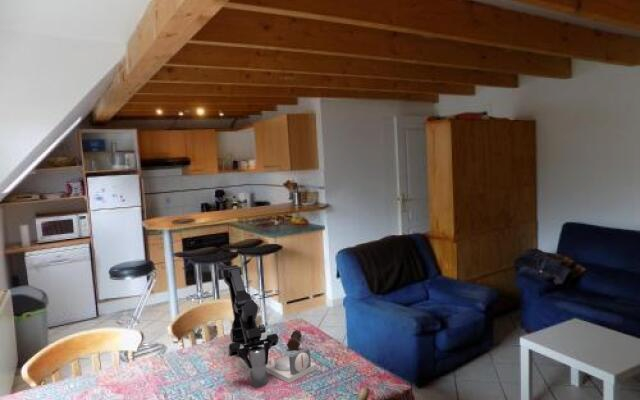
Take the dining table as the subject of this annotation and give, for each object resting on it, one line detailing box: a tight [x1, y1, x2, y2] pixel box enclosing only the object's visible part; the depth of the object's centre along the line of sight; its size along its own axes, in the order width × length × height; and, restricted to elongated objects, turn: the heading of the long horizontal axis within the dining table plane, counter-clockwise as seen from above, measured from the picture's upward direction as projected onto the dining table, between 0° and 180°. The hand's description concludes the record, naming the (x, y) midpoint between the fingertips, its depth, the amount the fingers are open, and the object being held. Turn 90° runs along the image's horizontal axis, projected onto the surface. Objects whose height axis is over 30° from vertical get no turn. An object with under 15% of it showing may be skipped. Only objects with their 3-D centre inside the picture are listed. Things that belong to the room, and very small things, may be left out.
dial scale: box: [266, 347, 317, 384], centre depth 168 cm, size 14×14×9 cm
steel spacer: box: [248, 345, 268, 388], centre depth 160 cm, size 6×6×13 cm
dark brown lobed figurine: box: [286, 329, 302, 352], centre depth 193 cm, size 6×5×15 cm
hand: (258, 366), depth 158 cm, fingers closed on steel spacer, 6 cm apart
